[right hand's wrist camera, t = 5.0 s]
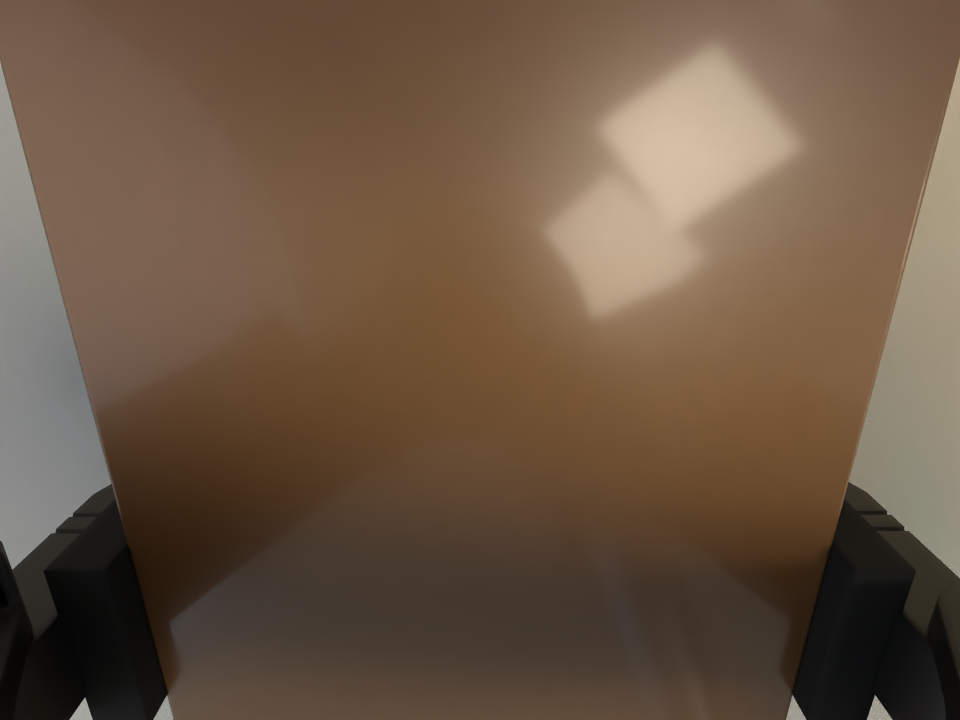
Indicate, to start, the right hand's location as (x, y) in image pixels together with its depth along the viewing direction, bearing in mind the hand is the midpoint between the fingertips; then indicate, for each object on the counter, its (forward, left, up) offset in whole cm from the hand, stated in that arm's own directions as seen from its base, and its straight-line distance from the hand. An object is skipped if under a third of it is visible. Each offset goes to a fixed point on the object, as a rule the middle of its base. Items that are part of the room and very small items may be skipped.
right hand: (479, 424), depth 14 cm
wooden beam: (+7, -22, -1) cm, 23 cm away
